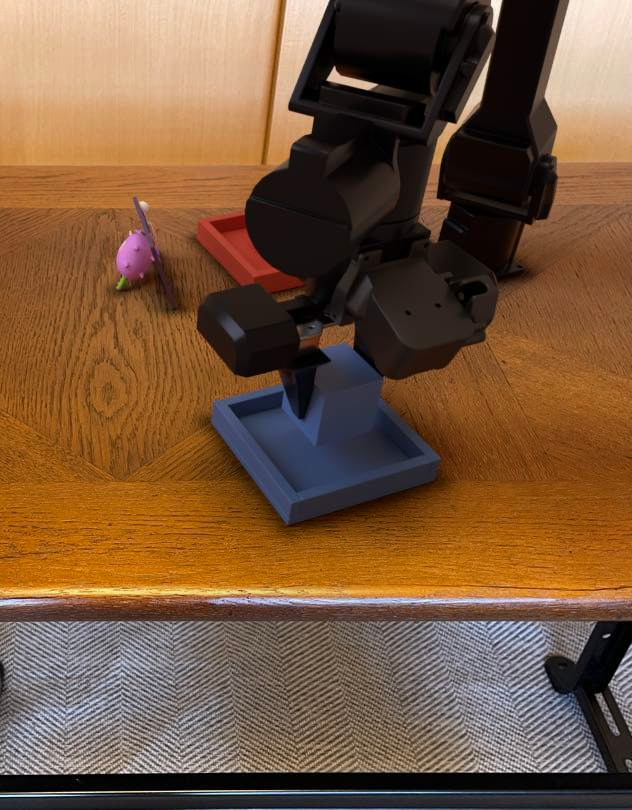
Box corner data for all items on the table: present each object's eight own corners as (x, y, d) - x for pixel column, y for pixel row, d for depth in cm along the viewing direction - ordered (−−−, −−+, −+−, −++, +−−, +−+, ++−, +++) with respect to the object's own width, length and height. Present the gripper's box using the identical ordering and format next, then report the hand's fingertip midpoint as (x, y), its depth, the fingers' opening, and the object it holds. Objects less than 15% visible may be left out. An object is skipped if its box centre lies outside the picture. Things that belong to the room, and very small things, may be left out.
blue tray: (345, 387, 72) (350, 365, 70) (435, 481, 64) (442, 458, 62) (210, 422, 68) (213, 401, 67) (287, 526, 60) (291, 503, 59)
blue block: (336, 392, 66) (345, 341, 64) (372, 430, 63) (384, 378, 60) (281, 407, 65) (288, 356, 62) (315, 447, 62) (325, 395, 59)
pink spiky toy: (162, 242, 76) (143, 192, 82) (103, 265, 76) (89, 213, 83) (185, 305, 80) (165, 252, 87) (128, 326, 80) (113, 272, 87)
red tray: (300, 217, 93) (303, 198, 91) (363, 272, 85) (368, 251, 83) (196, 238, 89) (197, 219, 88) (251, 297, 82) (254, 276, 80)
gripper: (302, 305, 45) (266, 525, 55) (601, 235, 50) (518, 447, 60) (201, 205, 53) (185, 412, 63) (467, 153, 58) (414, 353, 68)
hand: (327, 407), depth 64 cm, fingers closed on blue block, 4 cm apart
